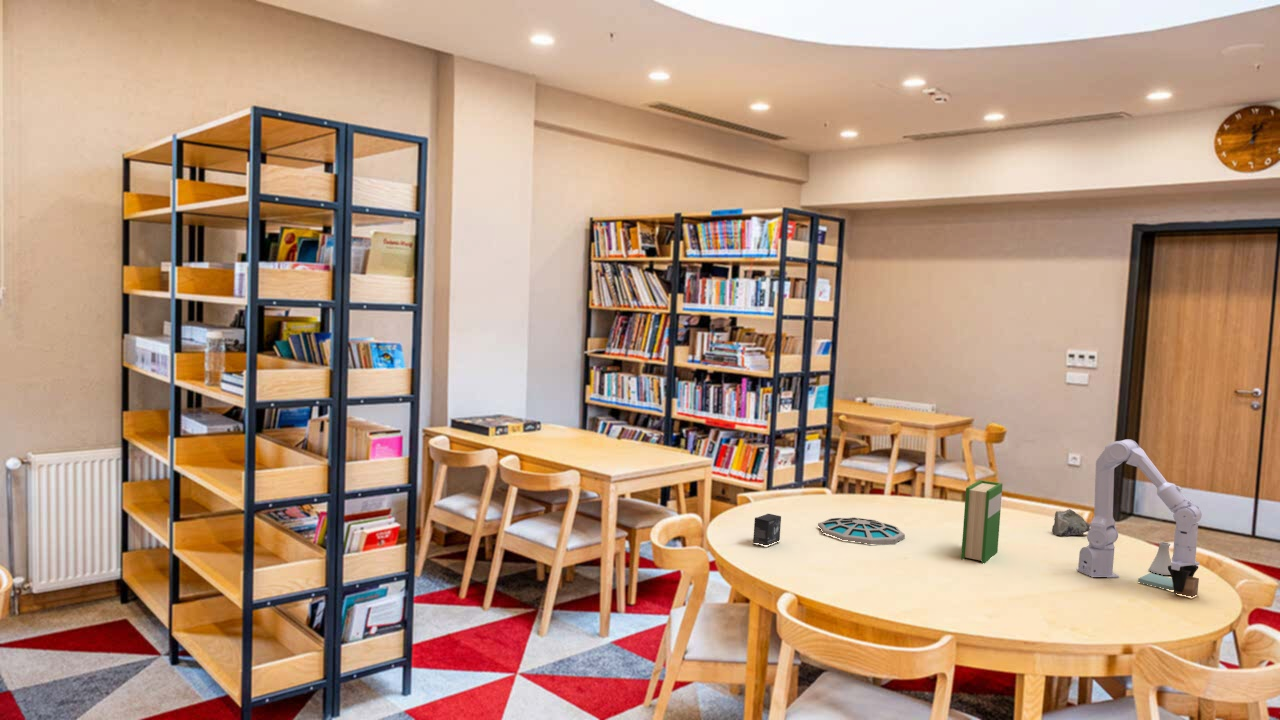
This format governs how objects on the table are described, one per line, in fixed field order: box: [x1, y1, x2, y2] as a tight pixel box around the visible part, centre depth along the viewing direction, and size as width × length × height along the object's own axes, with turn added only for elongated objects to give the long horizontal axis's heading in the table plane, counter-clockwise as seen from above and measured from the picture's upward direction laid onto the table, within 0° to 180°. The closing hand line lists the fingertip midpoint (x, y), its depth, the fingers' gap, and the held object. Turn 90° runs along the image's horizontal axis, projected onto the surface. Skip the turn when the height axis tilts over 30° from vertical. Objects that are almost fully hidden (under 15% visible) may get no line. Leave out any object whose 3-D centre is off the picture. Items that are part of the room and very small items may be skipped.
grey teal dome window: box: [817, 516, 906, 545], centre depth 310 cm, size 31×29×5 cm
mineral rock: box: [1051, 508, 1091, 537], centre depth 321 cm, size 13×11×10 cm
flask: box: [1147, 541, 1172, 576], centre depth 277 cm, size 7×7×10 cm
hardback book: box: [960, 480, 1003, 564], centre depth 288 cm, size 18×7×24 cm, turn 144°
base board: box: [1137, 572, 1174, 590], centre depth 265 cm, size 10×10×2 cm
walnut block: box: [1174, 576, 1200, 597], centre depth 255 cm, size 4×4×6 cm
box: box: [752, 513, 782, 545], centre depth 291 cm, size 9×6×10 cm, turn 143°
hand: (1181, 589), depth 256 cm, fingers closed on walnut block, 4 cm apart
